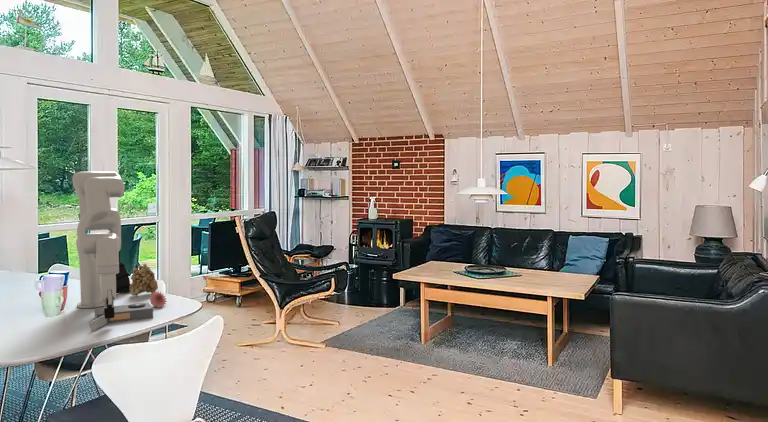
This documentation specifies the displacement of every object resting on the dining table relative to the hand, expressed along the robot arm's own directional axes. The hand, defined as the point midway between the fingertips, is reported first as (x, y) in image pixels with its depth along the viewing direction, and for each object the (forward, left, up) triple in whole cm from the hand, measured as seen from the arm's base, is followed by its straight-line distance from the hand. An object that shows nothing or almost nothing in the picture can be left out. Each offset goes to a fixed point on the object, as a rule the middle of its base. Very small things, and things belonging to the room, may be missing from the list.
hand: (109, 317), depth 212 cm
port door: (0, -3, -3) cm, 5 cm away
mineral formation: (-55, +19, -4) cm, 58 cm away
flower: (-26, +21, -4) cm, 34 cm away
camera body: (-12, +6, -3) cm, 14 cm away
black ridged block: (-66, +8, -4) cm, 66 cm away
